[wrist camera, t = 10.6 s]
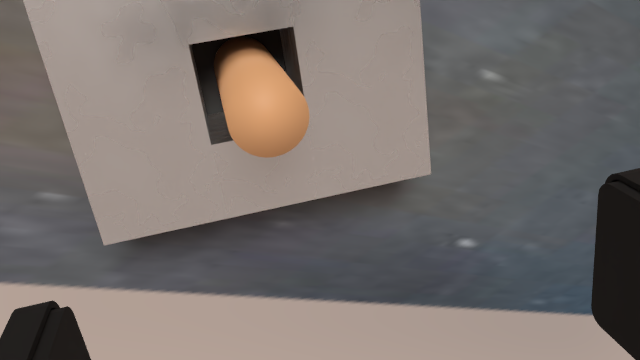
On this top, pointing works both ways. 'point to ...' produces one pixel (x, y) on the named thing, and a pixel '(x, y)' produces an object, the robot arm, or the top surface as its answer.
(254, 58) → the peg
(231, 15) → the hole block
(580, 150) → the top surface
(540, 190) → the top surface
